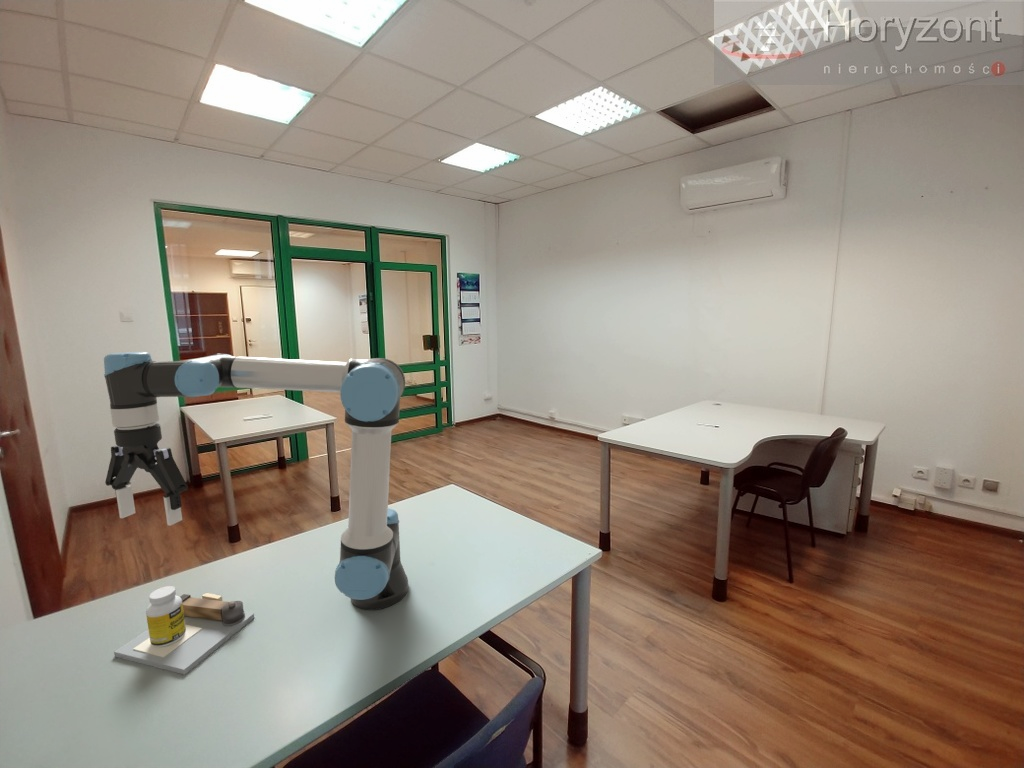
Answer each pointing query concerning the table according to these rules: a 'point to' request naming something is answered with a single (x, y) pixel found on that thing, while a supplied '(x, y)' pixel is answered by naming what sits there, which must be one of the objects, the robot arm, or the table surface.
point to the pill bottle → (165, 617)
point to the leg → (212, 609)
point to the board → (183, 643)
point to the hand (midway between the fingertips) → (151, 519)
